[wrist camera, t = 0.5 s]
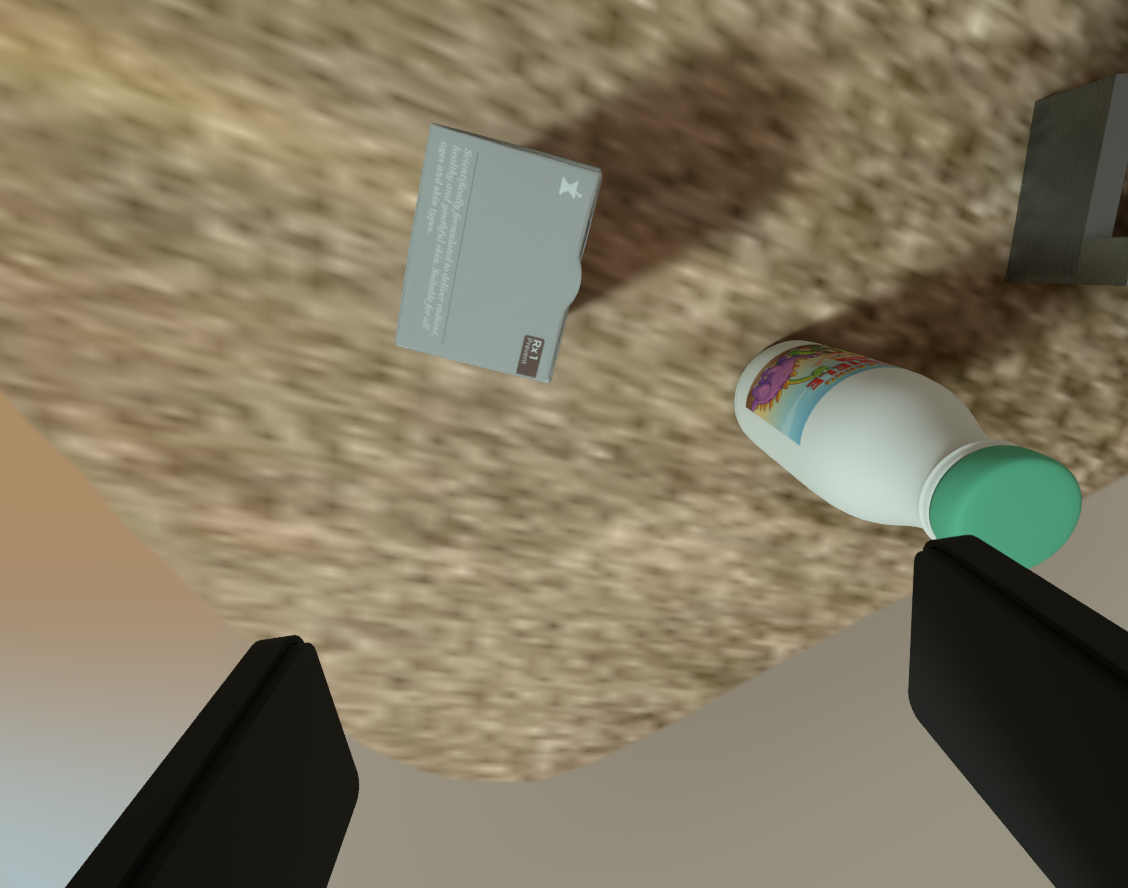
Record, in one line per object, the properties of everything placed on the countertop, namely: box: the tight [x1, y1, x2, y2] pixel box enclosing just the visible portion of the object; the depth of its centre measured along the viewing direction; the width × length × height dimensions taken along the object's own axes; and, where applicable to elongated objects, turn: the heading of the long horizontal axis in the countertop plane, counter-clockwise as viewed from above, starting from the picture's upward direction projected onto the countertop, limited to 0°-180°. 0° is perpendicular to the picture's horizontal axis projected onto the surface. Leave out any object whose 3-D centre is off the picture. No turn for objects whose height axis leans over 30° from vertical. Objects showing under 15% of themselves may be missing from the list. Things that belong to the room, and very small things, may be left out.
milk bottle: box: [734, 340, 1082, 569], centre depth 29 cm, size 8×8×20 cm
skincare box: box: [395, 124, 602, 383], centre depth 28 cm, size 8×7×16 cm
